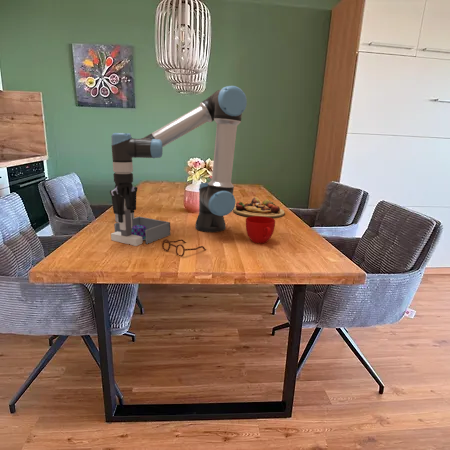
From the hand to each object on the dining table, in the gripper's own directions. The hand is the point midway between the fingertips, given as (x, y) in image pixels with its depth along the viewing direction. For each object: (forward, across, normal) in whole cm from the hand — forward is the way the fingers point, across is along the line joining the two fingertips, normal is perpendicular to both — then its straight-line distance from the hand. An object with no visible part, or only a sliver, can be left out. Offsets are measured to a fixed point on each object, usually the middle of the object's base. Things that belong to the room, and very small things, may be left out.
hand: (126, 228), depth 135 cm
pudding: (+6, -8, 0) cm, 10 cm away
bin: (+6, -10, 0) cm, 12 cm away
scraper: (+6, 0, 0) cm, 6 cm away
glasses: (+7, -6, +26) cm, 27 cm away
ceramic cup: (+6, -31, +49) cm, 58 cm away
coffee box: (+6, -26, -26) cm, 37 cm away
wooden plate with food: (+7, -85, +26) cm, 90 cm away
